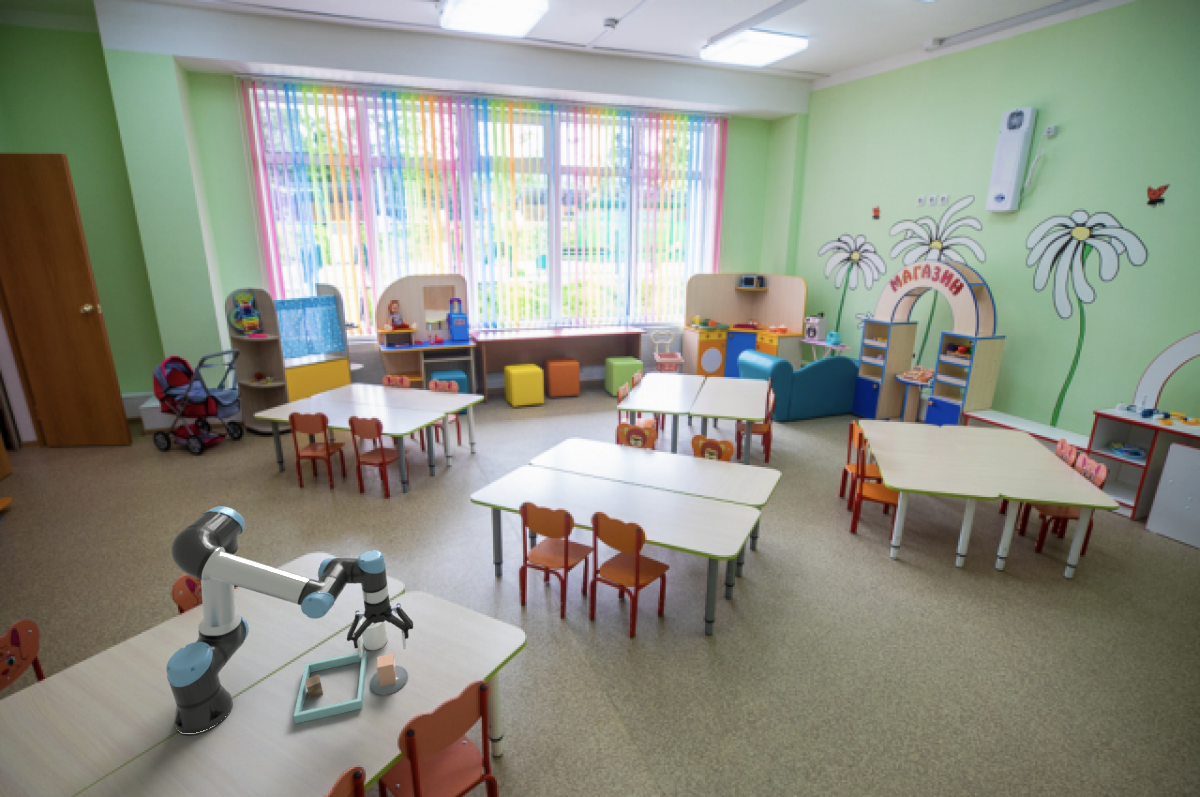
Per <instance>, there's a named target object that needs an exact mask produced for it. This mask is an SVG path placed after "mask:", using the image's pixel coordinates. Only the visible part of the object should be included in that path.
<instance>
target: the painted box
mask: <svg viewBox="0 0 1200 797" xmlns="http://www.w3.org/2000/svg"><path fill="white" fill-rule="evenodd" d="M376 660H377V662H376V664H377V665H376V670H377V671H376V672H378V677H379V684H380V687H382V686H386V685H390V684H395V683H396V667H395V666H396V661H395V656H394V653H390V654H385V655H380V656H377V659H376Z"/></svg>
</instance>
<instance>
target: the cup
mask: <svg viewBox="0 0 1200 797" xmlns="http://www.w3.org/2000/svg"><path fill="white" fill-rule="evenodd" d="M365 620H366V618H365V617H364V616H363V617H362V618H361V620H359V624H360V626H361V625H362V624H363V622H364V621H365ZM361 636H362V643H363V646H364V648H365V649H366V650H369V651H377V650H380V649H381V648H383V647H384V646H385V645H386V644H387V643H388V639H389V637H388V636H389V635H388V631H387V623H386V620H385V621H384V622H378V623H375V624H374V623H371V625H370V626H368V627H367V629H366V630H365V631H364V632H363V633H362V635H361Z"/></svg>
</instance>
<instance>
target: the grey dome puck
mask: <svg viewBox="0 0 1200 797" xmlns="http://www.w3.org/2000/svg"><path fill="white" fill-rule="evenodd" d="M395 667H396V683H395V684H390V685H386V686H382V687H380V684H379V677H378V671H376V672H375V673H374V674H373V675H372V677H371V678H370V682H369V688H370V690H371V692H373V693H374V694H376V695H379V696H387V695H392V694H394V693H396V692H397V691H399V690H401V689H402V688H403V687H404V686H405V685H406V684H407V682H408V677H409V676H408V671H407V669H406V668H404V667H403V666H401V665H395Z"/></svg>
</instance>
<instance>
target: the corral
mask: <svg viewBox="0 0 1200 797" xmlns="http://www.w3.org/2000/svg"><path fill="white" fill-rule="evenodd" d="M362 651H363V650H362ZM360 662H361V663H360ZM355 663H360V670H359V678H358V680H359V681H358V689H357V696H356V697H357V698H355V699H350V700H345V701H342V702H338V703H337V702H336V703H332V704H328V705H325V706H321V707H316V708H312V709H308V710H307V709H306V710H303V709H304V703H305V700H304V699H306V695H307V691H308V690H307V684H306V679H308V678H310V677H311V673H312V672H313V673H314V672H318V671H322V670H327V669H333V668H337V667H342V666H345V665H350V664H355ZM367 664H368V654H367V651H366V650H364V651H363V652H362V657H361V658H359V651H357V652H354V653H349V654H345V655H340V656H336V657H335V656H334V657H331V658H326V659H320V660H316V661H311V662H306V663H305V666H304V669H303V675H302V678H301V683H300V687H299V692H298V696H297V700H296V705H295V708H294V713H293V719H294V724H295V723H296V724H300V723H299V722H301V723H304V721H305V722H308V721H309V722H310V721H313V720H317V719H321V718H326V717H331V716H334V715H339V714H342V713H347V712H350V711H355V710H356V711H357V710H359V709H361V710H362V709H363V704H364V703H363V702H364V694H365V684H366V674H367ZM306 690H307V691H306Z"/></svg>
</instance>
